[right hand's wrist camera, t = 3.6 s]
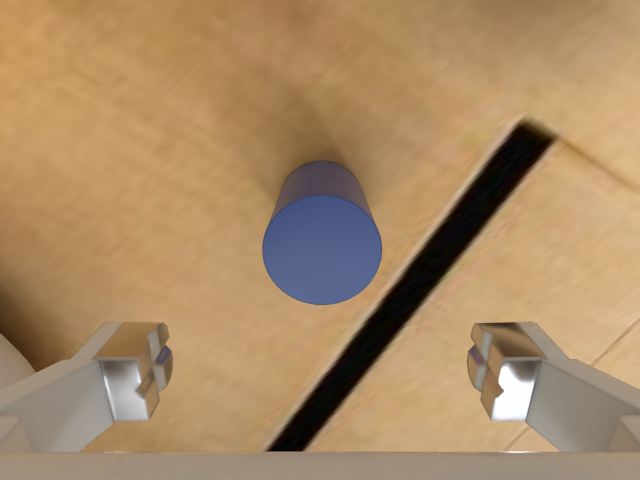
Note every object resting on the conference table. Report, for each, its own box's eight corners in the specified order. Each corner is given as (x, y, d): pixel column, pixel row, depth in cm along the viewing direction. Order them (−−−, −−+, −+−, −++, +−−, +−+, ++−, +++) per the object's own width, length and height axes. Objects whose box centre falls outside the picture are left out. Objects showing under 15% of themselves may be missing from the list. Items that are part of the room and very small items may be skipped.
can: (323, 256, 25) (324, 325, 17) (262, 204, 23) (237, 255, 16) (380, 200, 23) (406, 251, 16) (319, 142, 22) (319, 168, 15)
